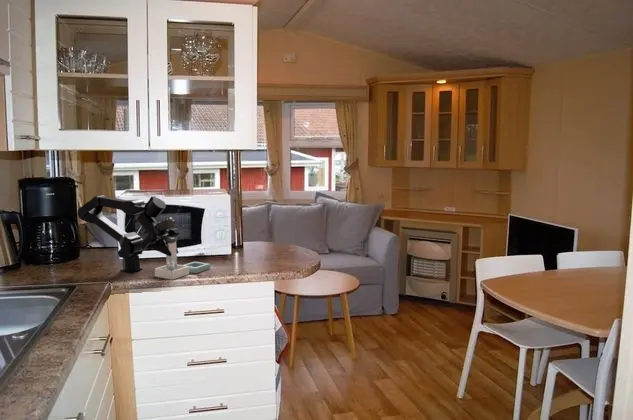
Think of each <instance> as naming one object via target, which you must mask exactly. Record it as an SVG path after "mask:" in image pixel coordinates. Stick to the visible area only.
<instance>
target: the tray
mask: <svg viewBox="0 0 633 420" xmlns="http://www.w3.org/2000/svg"><path fill="white" fill-rule="evenodd" d="M154 275H155V277H156V278H162V279H167V280H176V279H178V278H182V277H184V276H187V275H190V272H189V266H184V264H178V263H177V270H174V271H169V270H167V264H166V265H163V266H159V267H155V268H154Z"/></svg>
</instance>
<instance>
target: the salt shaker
mask: <svg viewBox="0 0 633 420" xmlns="http://www.w3.org/2000/svg"><path fill="white" fill-rule="evenodd" d="M164 240H165V242H166V246H167V248H168V249H169V251H170V252H171V254H172V255H171V256H168V255H166V254H165V258H166V261H165V262H166V265H167V270H169V271H174V270H177V264H178V256H177V255H178V254H177V251H176V247H177V241H178V237H167V238H164ZM165 242H164V243H165Z"/></svg>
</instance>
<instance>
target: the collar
mask: <svg viewBox="0 0 633 420" xmlns="http://www.w3.org/2000/svg"><path fill="white" fill-rule="evenodd" d="M183 265H184V266H189V273H192V274H197V273H200V272H201V273H202V272H204V271H208V270H210V269H211V263H207V262H201V261H192V262H189V263H185V264H183Z"/></svg>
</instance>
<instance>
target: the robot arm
mask: <svg viewBox="0 0 633 420" xmlns="http://www.w3.org/2000/svg"><path fill="white" fill-rule="evenodd" d="M166 207H167V204H166V202H165V201H163V200H162V199H160V198H159V197H157V196H155V195H154V196H151V197H150V198H149V200H148V201H147V202H145V201H144V200H143V199H121V198H117V197H111V196H106V195H104V194H100V195H95V196H94V197H92V198H91V200H89V201H87V202H85V203H84V204H83V205H81V206H80V207H79V208H78V209H77V217H78V218H79V219H80V220H81V221H84V222H85V223H89V224H93V225H95V226H97V228H99V229H100V230H102V231H103V232H104V233H106V234H107V235H109V236H110V237H112V239H114V240H115V241H117V242H118V244H119V246H120V249H119V250H118V251H117V256H118V258H121V259H122V268H121V269H119V271H120V272H125V273H130V274H131V273H134V272H139V271H142V270H143V269H144V268H143V267H141V262H140V261H141V260H140V255H142V254H143V252H144V251H145V250H149V248H150V245H151V248H150V250H154V251H157V252H159V253H161V254H164V255H165V256H166V255H168V256H171V255H172V254H171V252H170V251H169V249H168V248H167V246H166V242H165V240H164V238H167V237H176V238H178V237H179V235H181V230H180V229H179V228H175V224H176V220H175V219H174V218H173V216H171V217H168V218H165V220H163V221H157V220H156V219H155V218H158V217H159V216H160V215H161V214H162V212H163V211H164V210H165V209H166ZM104 208H109V209H110V208H111V209H116V210H120V211H121V212H123V214H126V215H129V216H136V215H137V216H136V217H133V221H132V222H133V223H132V224H133V225H138V224H139V226H141V228H142V229H143V230H144V232H143V233H144V235H146V237H145V238H144V239H143V237H142V236H141V235H139V234H138V233H137V232H135V231H133V232H126V231H125V230H124V229H123V228H121V227H119V226H118V225H117V224H115V222H113V221H111V220H110V219H108V218H107V217H106V216H105V215H104V214H103V210H104ZM170 228H171V229H170ZM176 251H177V255H178V254H179V251H178V247H177V246H176Z"/></svg>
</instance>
